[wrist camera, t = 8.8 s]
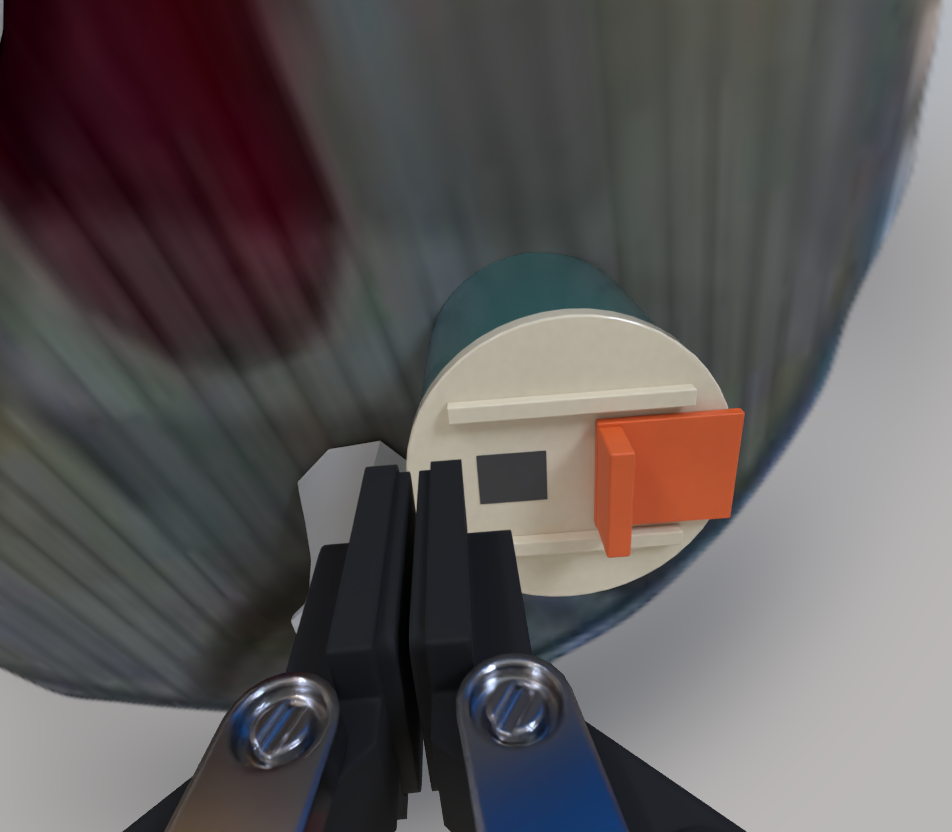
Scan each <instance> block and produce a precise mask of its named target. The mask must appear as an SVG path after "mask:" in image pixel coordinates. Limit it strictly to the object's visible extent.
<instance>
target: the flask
mask: <svg viewBox="0 0 952 832" xmlns="http://www.w3.org/2000/svg"><path fill="white" fill-rule="evenodd" d="M395 464H397V465H398V468H399V472H406V460H405V459H404V458H402V457H401V456H400V455H398V454H397V453H396V452H394V451H393V450H392V449H390V448H389V447H388V446H386V445H385V444H384V443H382V442H381V441H376V442H370V443H364V444H358V445H352V446H346V447H340V448H334V449H328V451H327V452H326V453H325V454H324V455H323V456H322V457H321V458H320V459H319V460H318V461H317V462H316V463H315V464H314V465H313V466H312V468H311V469H310V470H309V471H308V472H307V473H306V474H305V475H304V476H303V477H302V478H301V479H300V480H299V481H298V482H297V483H298V489H299V495H300V499H301V504H302V509H303V513H304V518H305V523H306V529H307V536H308V542H309V549H310V555H311V571H310V583H311V580H312V576H313V573H314V569H315V566H316V562H317V558H318V555H319V552H320V549H321V547H322V546H323V545H329V544H341V543H349V540H350V535H351V531H352V526H353V521H354V517H355V512H356V508H357V503H358V498H359V494H360V489H361V484H362V480H363V475H364V470H365V468H366V467H370V466H382V465H395ZM309 587H310V586H309ZM304 605H305V604H304ZM304 605H303V606H302V607H301V608H300V609H299V610H298V611H297V612H296V613H295V614H294V615H293V617H292V620H291V623H292V625H293V627H294V629H295V632H296V634H297V630H298V627H299V623H300V619H301V616H302V612H303V609H304Z"/></svg>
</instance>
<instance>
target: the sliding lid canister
mask: <svg viewBox="0 0 952 832" xmlns="http://www.w3.org/2000/svg"><path fill="white" fill-rule="evenodd" d="M721 409H728V405H727V403H726V400H725V398H724V396H723V394H722V391H721V389H720V387H719V385H718V384H717V382H716V381H715V379H714V378H713V376H712V375H711V373H710V371H709V370H708V369H707V368H706V367H705V366H704V364H703V363H702V362H701V361H700V360H699V359H698V358H697V357H696V356H695V355H694V354H693V353H692V352H691V351H690V350H689V349H688V348H687V347H686V346H685V345H683V344H682V343H681V342H680V341H678V340H677V339H676V338H675V337H673V336H672V335H671V334H669V333H667V332H665V331H664V330H662V329H660V328H659V327H658V326H657V325H656V324H655V323H654V322H653V321H652V320H651V318H650V317H649V316H648V315H647V314H646V313H645V312H644V311H643V310H642V309H641V308H640V307H639V306H638V305H637V304H636V303H635V302H634V301H633V300H632V299H631V298H630V297H629V296H628V295H627V294H626V293H625V292H624V290H623V289H622V288H621V287H620V286H619V285H618V284H617V283H616V282H615V281H614V280H613V279H611V278H610V277H609V276H608V275H607V274H605V273H604V272H603V271H601V270H600V269H598V268H596V267H595V266H593V265H591V264H589V263H587V262H584V261H582V260H580V259H577V258H574V257H570V256H566V255H562V254H554V253H528V254H521V255H515V256H512V257H508V258H505V259H502V260H499V261H497V262H495V263H492V264H490V265H488V266H486V267H484V268H483V269H481V270H479V271H478V272H476V273H474V274H473V275H472V276H471V277H469V278H468V279H467V280H466V281H464V282H463V283H462V284H461V285H460V286H459V287H458V288H457V289H456V290H455V291H454V292H453V293H452V295H451V296H450V298H449V299H448V300H447V302H446V303H445V304H444V306H443V308H442V310H441V311H440V313H439V315H438V317H437V319H436V322H435V324H434V327H433V330H432V333H431V337H430V342H429V347H428V354H427V361H426V367H425V374H424V381H423V387H422V394H421V401H420V405H419V407H418V410H417V412H416V415H415V417H414V420H413V424H412V428H411V432H410V437H409V442H408V448H407V460H406V472H409V471H410V474H411V479H412V486H413V494H414V501H415V508H416V510H417V494H418V478H419V471H422V470H430V464H431V462H432V461H444V460H457V459H461V461H462V472H463V484H464V495H465V507H466V518H467V530H468V533H474V532H486V531H498V530H510V529H511V532H512V537H513V543H514V549H515V555H516V561H517V567H518V573H519V579H520V585H521V591H522V593H524V594H530V595H539V596H575V595H583V594H590V593H595V592H599V591H604V590H608V589H611V588H614V587H617V586H620V585H623V584H626V583H629V582H631V581H633V580H635V579H638V578H640V577H642V576H644V575H646V574H648V573H650V572H651V571H653V570H655V569H657V568H658V567H660V566H662V565H663V564H664V563H666V562H667V561H669V560H670V559H671V558H673V557H674V556H676V555H677V554H678V553H679V552H680V551H681V550H682V549H683V548H685V547H686V546H687V545H688V544H689V543H690V542H691V541H692V540H693V539H694V538H695V537H696V535H697V534H698V533H699V532H700V531H701V530H702V529H703V527H704V526H705V525H706V523H707V522H708V520H709V519H705V520H692V521H679V522H665V523H652V524H638V525H632V537H631V554H630V556H628V557H615V558H608V557H607V555H606V552H605V549H604V546H603V543H602V540H601V537H600V534H599V531H598V528H597V527H596V526H595V523H594V486H595V423H596V419H605V418H618V417H631V416H644V415H657V414H670V413H682V412H695V411H708V410H721Z"/></svg>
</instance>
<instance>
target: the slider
mask: <svg viewBox="0 0 952 832" xmlns="http://www.w3.org/2000/svg"><path fill="white" fill-rule="evenodd" d="M744 415H745V413H744V412H743V411H742V410H741V409H740V408H734V409H721V410H708V411H695V412H682V413H670V414H657V415H644V416H631V417H618V418H605V419H596V423H595V486H594V523H595V526H596V527H597V528H598V531H599V534H600V537H601V540H602V543H603V546H604V549H605V552H606V555H607V557H608V558H615V557H628V556H630V554H631V537H632V525H638V524H652V523H665V522H679V521H692V520H705V519H719V518H730V514H731V507H732V500H733V493H734V486H735V479H736V472H737V465H738V458H739V451H740V444H741V436H742V429H743V422H744Z"/></svg>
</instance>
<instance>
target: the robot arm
mask: <svg viewBox="0 0 952 832" xmlns="http://www.w3.org/2000/svg"><path fill="white" fill-rule="evenodd" d="M2 32H3V0H0V41H1V37H2ZM423 740H424V746H425V751H426V758H427V764H428V770H429V776H430V782H431V788H432V791H437V790H438V791H439V794H440V801H441V807H442V814H443V820H444V825H445V826H446V827H447V828H448V829H449V830H450V831H451V832H746V831H745V830H743V829H742V828H740V827H739V826H737V825H736V824H735V823H733V822H732V821H730V820H729V819H727V818H726V817H724V816H723V815H721V814H720V813H718V812H717V811H715V810H714V809H712V808H711V807H710V806H708V805H707V804H705V803H704V802H702V801H701V800H700V799H698V798H696V797H695V796H693V795H692V794H691V793H689V792H688V791H686V790H685V789H684V788H682V787H681V786H679V785H678V784H676V783H675V782H673V781H672V780H670V779H669V778H667V777H666V776H665V775H663V774H662V773H660V772H659V771H657V770H656V769H654V768H653V767H651V766H650V765H648V764H647V763H646V762H644V761H643V760H641V759H640V758H638V757H637V756H635V755H634V754H632V753H631V752H629V751H628V750H626V749H625V748H623V747H622V746H621V745H619V744H618V743H616V742H615V741H614V740H612V739H611V738H609V737H608V736H606V735H605V734H603V733H602V732H600V731H599V730H597V729H596V728H595V727H593V726H591V725H590V724H589V723H587V722H586V721H585V720H584V718H583V715H582V713H581V710H580V708H579V705H578V703H577V700H576V698H575V695H574V693H573V690H572V688H571V686H570V685H569V683H568V682H567V680H566V678H565V676H564V675H563V674H562V673H561V672H560V671H559V670H558V669H557V668H555V667H554V666H553V665H552V664H551V663H549V662H547V661H545V660H543V659H541V658H538V657H536V656H533V655H532V652H531V646H530V640H529V633H528V627H527V621H526V615H525V609H524V603H523V597H522V591H521V585H520V579H519V573H518V567H517V561H516V555H515V549H514V543H513V537H512V532H511V529H510V530H498V531H486V532H474V533H468V530H467V518H466V507H465V495H464V484H463V472H462V461H461V459H457V460H444V461H432V462H431V464H430V470H422V471H419V478H418V494H417V510H416V508H415V501H414V494H413V486H412V479H411V474H410V471H409V472H399V468H398V465H397V464H395V465H382V466H370V467H366V468H365V470H364V475H363V480H362V484H361V489H360V494H359V498H358V503H357V508H356V512H355V517H354V521H353V526H352V531H351V535H350V540H349V543H341V544H329V545H323V546H322V547H321V549H320V552H319V555H318V558H317V562H316V566H315V569H314V573H313V576H312V580H311V583H310V587H309V591H308V594H307V598H306V601H305V605H304V609H303V612H302V616H301V619H300V623H299V627H298V630H297V634H296V637H295V641H294V645H293V648H292V652H291V655H290V659H289V663H288V666H287V670H286V673H282V674H279V675H276V676H273V677H270V678H267V679H265V680H263V681H261V682H260V683H258V684H256V685H255V686H253V687H251V688H250V689H248V690H247V691H246V692H245V693H244V694H243V695H242V696H241V697H240V698H238V699H237V700H236V701H235V702H234V703H233V705H232V706H231V708H230V709H229V710H228V712H227V713H226V715H225V716H224V718H223V719H222V721H221V723H220V725H219V727H218V729H217V731H216V733H215V735H214V737H213V738H212V740H211V742H210V744H209V746H208V748H207V750H206V752H205V754H204V756H203V758H202V760H201V762H200V764H199V765H198V768H197V769H196V771H195V773H194V775H193V776H192V777H191V778H190V779H189V780H187V781H186V782H185V783H184V784H182V785H181V786H180V787H178V788H177V789H176V790H175V791H173V792H172V793H171V794H170V795H168V796H167V797H166V798H165V799H163V800H162V801H161V802H160V803H158V804H157V805H156V806H154V807H153V808H152V809H151V810H149V811H148V812H147V813H146V814H144V815H143V816H142V817H140V818H139V819H138V820H137V821H135V822H134V823H133V824H132V825H130V826H129V827H128V828H127V829H126V830H124V831H123V832H395V831H396V828H397V820H399V819H407V805H408V793H416V792H421V786H422V758H423Z"/></svg>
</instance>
